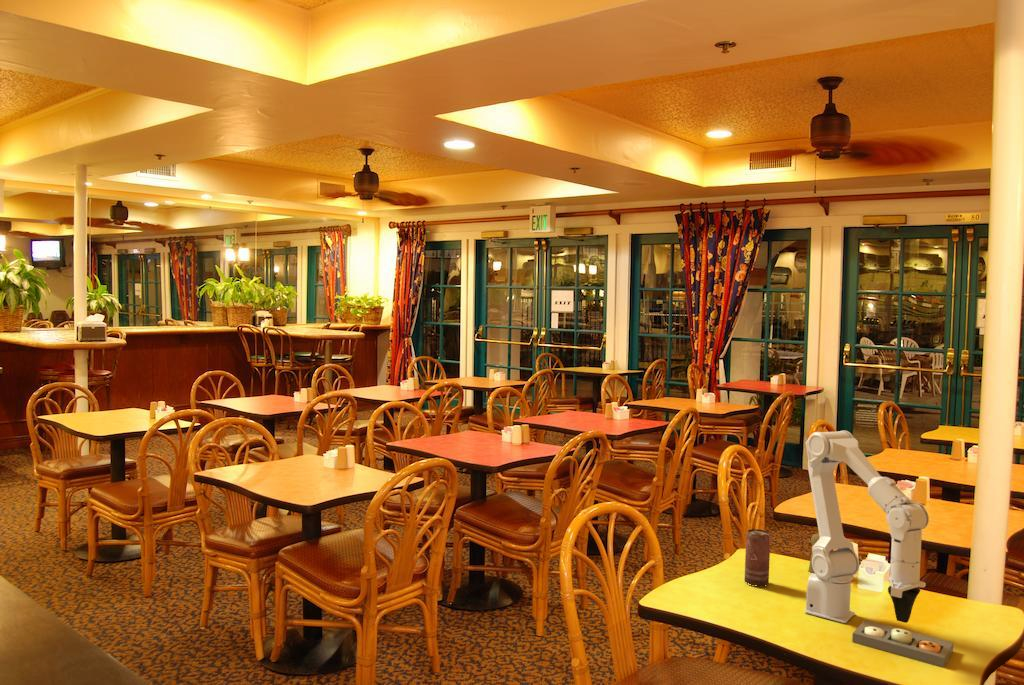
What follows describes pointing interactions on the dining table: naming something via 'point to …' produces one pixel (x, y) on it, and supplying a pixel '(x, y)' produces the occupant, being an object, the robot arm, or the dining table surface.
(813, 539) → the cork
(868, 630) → the button one
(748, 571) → the can
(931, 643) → the button three
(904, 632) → the button two
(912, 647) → the button panel
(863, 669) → the dining table surface
